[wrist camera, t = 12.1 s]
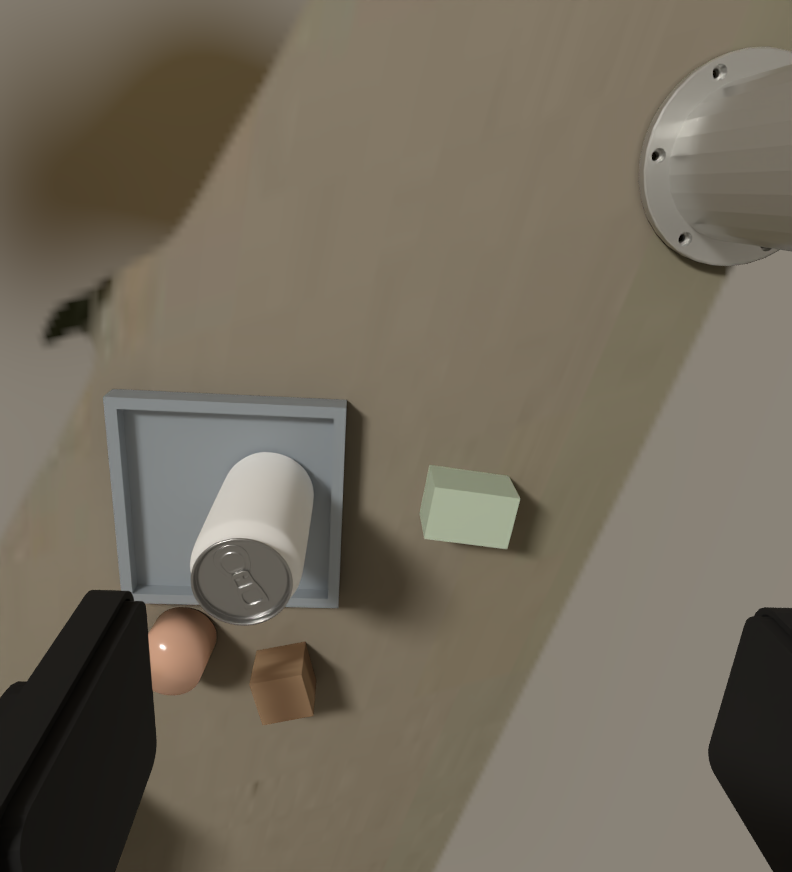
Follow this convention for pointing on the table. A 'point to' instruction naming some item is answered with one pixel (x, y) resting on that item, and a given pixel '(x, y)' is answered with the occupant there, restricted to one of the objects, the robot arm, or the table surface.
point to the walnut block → (283, 683)
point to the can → (253, 540)
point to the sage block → (468, 507)
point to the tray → (215, 480)
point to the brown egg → (180, 649)
